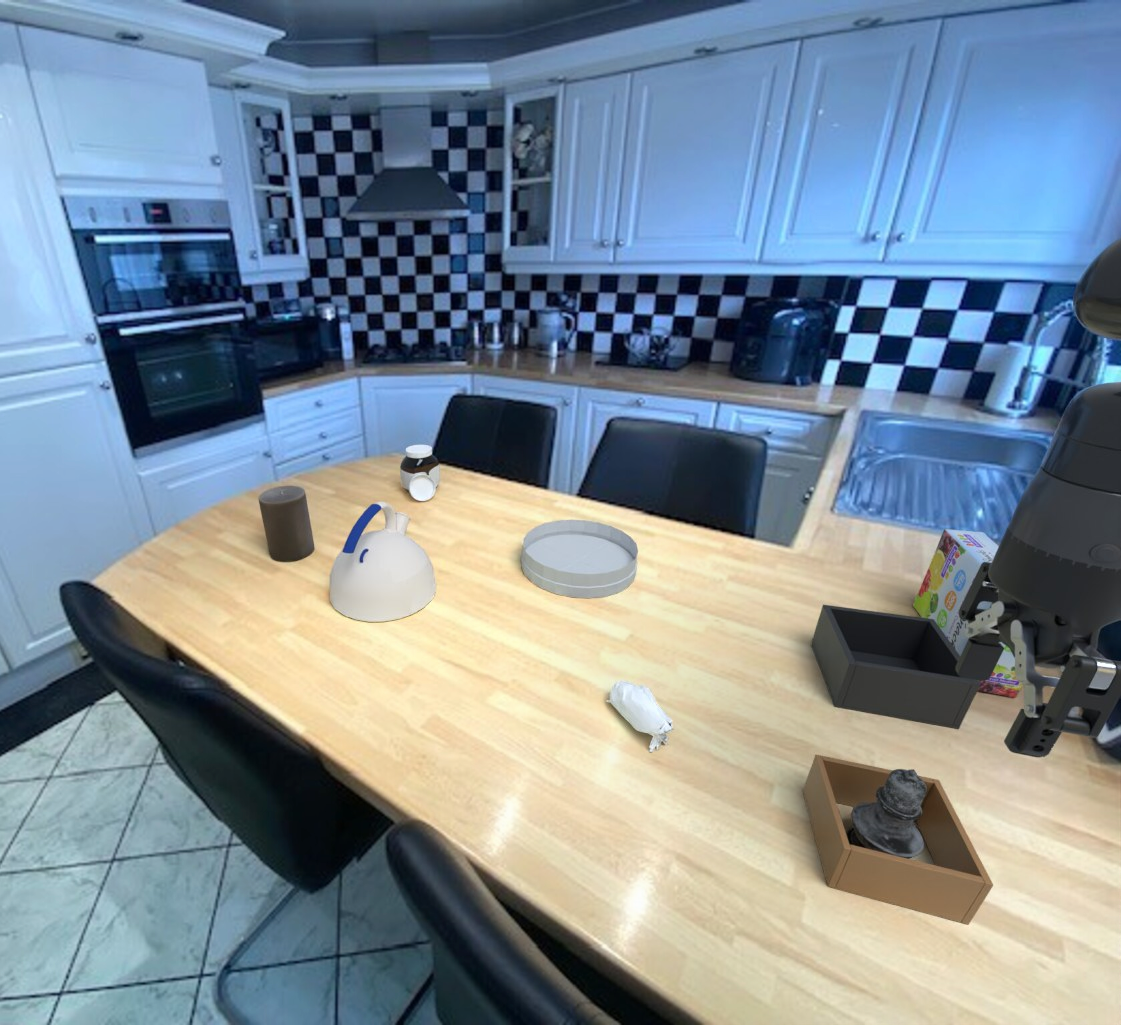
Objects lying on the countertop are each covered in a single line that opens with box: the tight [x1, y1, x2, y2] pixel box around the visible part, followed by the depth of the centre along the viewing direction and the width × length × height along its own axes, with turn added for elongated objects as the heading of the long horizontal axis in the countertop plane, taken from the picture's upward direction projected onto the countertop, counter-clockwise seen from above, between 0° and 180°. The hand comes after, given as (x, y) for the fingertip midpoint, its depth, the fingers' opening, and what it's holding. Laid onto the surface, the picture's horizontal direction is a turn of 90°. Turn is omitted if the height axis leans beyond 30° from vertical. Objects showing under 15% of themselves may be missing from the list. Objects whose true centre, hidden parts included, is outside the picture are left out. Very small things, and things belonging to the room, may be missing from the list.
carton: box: [802, 754, 994, 925], centre depth 57 cm, size 11×11×6 cm
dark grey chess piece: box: [846, 768, 927, 859], centre depth 55 cm, size 6×6×12 cm
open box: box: [810, 604, 980, 730], centre depth 77 cm, size 14×14×8 cm
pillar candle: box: [257, 484, 315, 563], centre depth 119 cm, size 10×10×15 cm
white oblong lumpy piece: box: [605, 680, 675, 753], centre depth 73 cm, size 5×7×10 cm
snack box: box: [912, 528, 1024, 698], centre depth 82 cm, size 21×6×15 cm, turn 161°
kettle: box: [329, 501, 438, 623], centre depth 102 cm, size 20×21×18 cm
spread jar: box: [399, 444, 441, 502], centre depth 145 cm, size 12×11×12 cm
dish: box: [520, 519, 639, 599], centre depth 110 cm, size 22×22×5 cm
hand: (994, 710), depth 46 cm, fingers open, 8 cm apart
